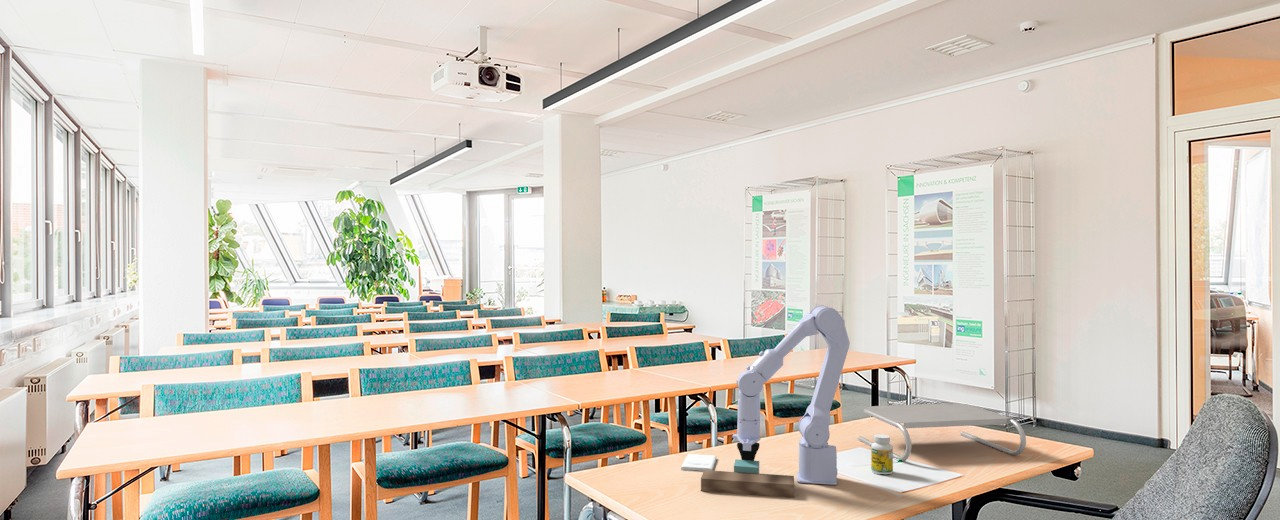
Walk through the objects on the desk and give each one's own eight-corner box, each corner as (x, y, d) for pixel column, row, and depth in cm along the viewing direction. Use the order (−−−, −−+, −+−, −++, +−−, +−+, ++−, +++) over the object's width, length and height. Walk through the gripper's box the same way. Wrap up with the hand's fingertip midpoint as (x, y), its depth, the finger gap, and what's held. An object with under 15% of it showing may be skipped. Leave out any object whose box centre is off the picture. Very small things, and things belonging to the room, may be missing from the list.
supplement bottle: (896, 472, 186) (896, 436, 186) (886, 477, 182) (887, 439, 182) (877, 468, 190) (877, 432, 190) (867, 472, 186) (867, 435, 186)
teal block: (759, 478, 179) (759, 460, 179) (758, 485, 174) (758, 467, 174) (735, 476, 181) (735, 459, 180) (733, 483, 176) (733, 465, 176)
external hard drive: (716, 461, 198) (711, 474, 186) (687, 459, 199) (680, 472, 187) (716, 455, 198) (711, 468, 186) (687, 453, 199) (680, 465, 187)
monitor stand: (964, 436, 226) (964, 402, 226) (1027, 460, 199) (1027, 422, 199) (857, 440, 220) (857, 406, 220) (907, 467, 192) (907, 427, 192)
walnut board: (793, 488, 173) (793, 475, 173) (794, 497, 166) (794, 484, 166) (703, 482, 177) (704, 470, 177) (700, 490, 170) (700, 478, 170)
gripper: (734, 411, 188) (733, 462, 188) (731, 424, 174) (729, 479, 174) (761, 413, 187) (760, 464, 187) (760, 425, 173) (758, 481, 173)
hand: (747, 471), depth 180 cm, fingers closed, pressing on teal block
